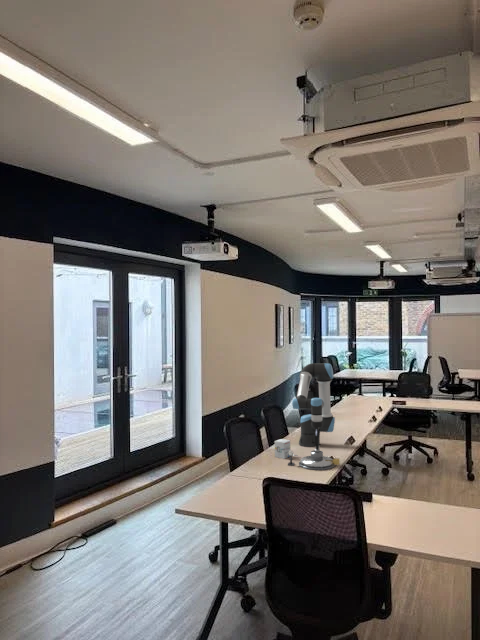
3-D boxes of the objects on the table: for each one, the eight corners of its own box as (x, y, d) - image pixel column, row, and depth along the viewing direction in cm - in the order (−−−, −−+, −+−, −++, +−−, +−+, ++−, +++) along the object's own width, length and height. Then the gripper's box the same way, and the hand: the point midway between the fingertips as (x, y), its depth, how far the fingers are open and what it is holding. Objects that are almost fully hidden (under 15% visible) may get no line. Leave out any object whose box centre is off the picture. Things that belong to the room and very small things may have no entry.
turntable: (302, 457, 332) (302, 452, 332) (340, 459, 326) (340, 454, 326) (298, 466, 311) (298, 461, 311) (338, 469, 304) (338, 463, 304)
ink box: (281, 454, 347) (280, 438, 347) (291, 456, 342) (290, 440, 342) (274, 457, 340) (274, 440, 340) (284, 458, 335) (284, 442, 335)
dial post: (288, 463, 323) (288, 449, 323) (298, 464, 321) (297, 449, 321) (287, 465, 319) (287, 450, 319) (297, 466, 317) (297, 451, 317)
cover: (311, 457, 325) (311, 447, 325) (323, 458, 323) (323, 448, 323) (310, 460, 318) (310, 451, 318) (322, 461, 316) (322, 451, 316)
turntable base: (301, 459, 333) (301, 457, 333) (336, 460, 327) (336, 459, 327) (296, 469, 310) (296, 467, 310) (333, 471, 304) (333, 469, 304)
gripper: (312, 418, 332) (313, 452, 332) (310, 422, 320) (311, 457, 320) (323, 419, 331) (323, 452, 330) (321, 422, 318) (322, 457, 318)
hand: (317, 455), depth 325 cm, fingers closed
